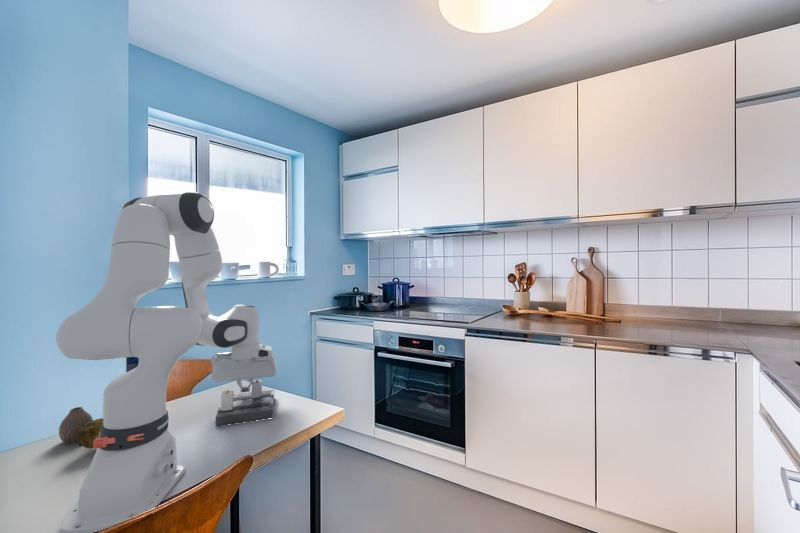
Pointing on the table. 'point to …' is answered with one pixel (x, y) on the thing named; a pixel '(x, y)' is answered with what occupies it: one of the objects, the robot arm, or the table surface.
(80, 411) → the vase
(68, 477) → the table surface
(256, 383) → the fader
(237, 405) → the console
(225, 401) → the fader
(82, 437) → the potato
